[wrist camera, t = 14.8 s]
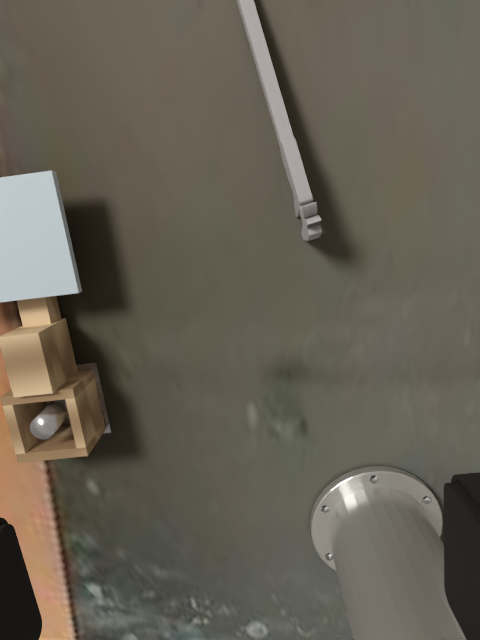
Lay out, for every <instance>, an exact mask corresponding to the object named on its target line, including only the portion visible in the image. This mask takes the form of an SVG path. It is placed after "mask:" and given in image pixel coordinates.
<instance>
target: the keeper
mask: <svg viewBox="0 0 480 640" xmlns="http://www.w3.org/2000/svg"><path fill="white" fill-rule="evenodd" d="M80 292H82V288H81V284H80V279H79V274H78V270H77V265H76V261H75V256H74V252H73V247H72V243H71V238H70V233H69V229H68V224H67V220H66V215H65V211H64V206H63V201H62V197H61V192H60V188H59V183H58V179H57V174H56V171H45V172H38V173H31V174H23V175H16V176H8V177H1V178H0V302H9V301H17V300H25V299H34V298H42V297H50V296H59V295H67V294H75V293H80Z"/></svg>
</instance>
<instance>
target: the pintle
mask: <svg viewBox="0 0 480 640" xmlns="http://www.w3.org/2000/svg"><path fill="white" fill-rule="evenodd" d="M76 366H77V370H78V371H84V370H93V373H94V377H95V382H96V387H97V391H98V396H99V401H100V405H101V410H102V415H103V419H104V424H105V428H106V430H105V431H104V433H111V432H112V430H111V426H110V421H109V417H108V412H107V408H106V403H105V399H104V394H103V389H102V385H101V380H100V376H99V371H98V367H97V362H94V363H85V364H76ZM44 405H45V409H44V410H43V411H42V412H41V413H40V414H39V415H38V416H37V417H36V418H35V419H33V420H32V422H31V424H30V430H31V433H32V434H33V435H34V436H35V437H37V438H39V439H48V438H50V437H52V435H53V434H54V433H55V432H56V431H57V430H58V429H59V427H60V426H69V425H71V422H70V418H69V414H68V410H67V405H66V401H65V399H63V400H54V401H45V402H44Z"/></svg>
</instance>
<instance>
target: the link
mask: <svg viewBox="0 0 480 640" xmlns="http://www.w3.org/2000/svg"><path fill="white" fill-rule="evenodd" d="M17 304H18V308H19V312H20V316H21V320H22V324H23V326H21V327H19V328H17V329H15V330H12V331H10V332H8V333H6V334H4V335H2V336H0V348H1V351H2V355H3V359H4V363H5V367H6V370H7V374H8V378H9V382H10V385H11V390H9V391H8V392H6V393H5V394H4V395H2V396H1V397H0V398H1V401H2V405H3V409H4V412H5V416H6V420H7V423H8V427H9V431H10V434H11V438H12V442H13V445H14V449H15V453H16V456H17V460H18V463H22V462H32V461H42V460H52V459H62V458H72V457H82V456H88V455H89V454H90V452H91V451H92V449H93V448H94V446H95V445H96V443H97V442H98V440H99V439H100V437H101V436H102V434H103V433H104V431H105V430H106V428H105V424H104V419H103V415H102V410H101V405H100V401H99V396H98V391H97V387H96V382H95V377H94V373H93V370H84V371H78V370H77V366H76V361H75V357H74V352H73V348H72V343H71V339H70V334H69V330H68V325H67V321H66V318H61V314H60V310H59V305H58V301H57V297H56V296H50V297H42V298H34V299H25V300H17ZM63 399H65V401H66V405H67V410H68V414H69V418H70V422H71V425H69V426H60V427H59V429H58V430H57V431H56V432H55V433H54V434H53V435H52V437H50V438H48V439H39V438H37V437H35V436H34V435H33V434H32V433H31V430H30V424H31V422H32V420H33V419H35V418H36V417H37V416H38V415H39V414H40V413H41V412H42V411H43V410H44V409H45V405H44V402H45V401H54V400H63Z"/></svg>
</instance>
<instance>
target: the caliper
mask: <svg viewBox="0 0 480 640" xmlns="http://www.w3.org/2000/svg"><path fill="white" fill-rule="evenodd" d="M237 3H238V7H239V10H240V13H241V17H242V20H243V24H244V27H245V30H246V34H247V37H248V40H249V44H250V47H251V51H252V54H253V57H254V61H255V64H256V67H257V71H258V74H259V78H260V81H261V84H262V88H263V91H264V95H265V98H266V101H267V105H268V108H269V111H270V115H271V118H272V122H273V125H274V128H275V132H276V135H277V139H278V142H279V145H280V149H281V156H282V160H283V163H284V166H285V169H286V173H287V176H288V179H289V182H290V185H291V188H292V191H293V195H294V205H295V213H296V217H297V218H298V217H301V220H302V223H303V227H302V232H301V235H302V237H303V239H304V240H306V241H310V240H313V239H316V238H319V237H320V236H321V233H322V229H321V225H320V223H321V221H322V220H321V218H320V216H318V215H317V203H316V202H314V203H313V197H312V194H311V190H310V187H309V184H308V180H307V177H306V173H305V170H304V167H303V163H302V160H301V157H300V153H299V150H298V146H297V143H296V140H295V138H294V136H293V133H292V129H291V126H290V122H289V119H288V116H287V112H286V109H285V105H284V102H283V98H282V95H281V92H280V88H279V85H278V81H277V78H276V75H275V71H274V68H273V64H272V61H271V58H270V54H269V51H268V47H267V44H266V40H265V37H264V34H263V30H262V27H261V23H260V20H259V17H258V13H257V10H256V6H255V3H254V0H237Z"/></svg>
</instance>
